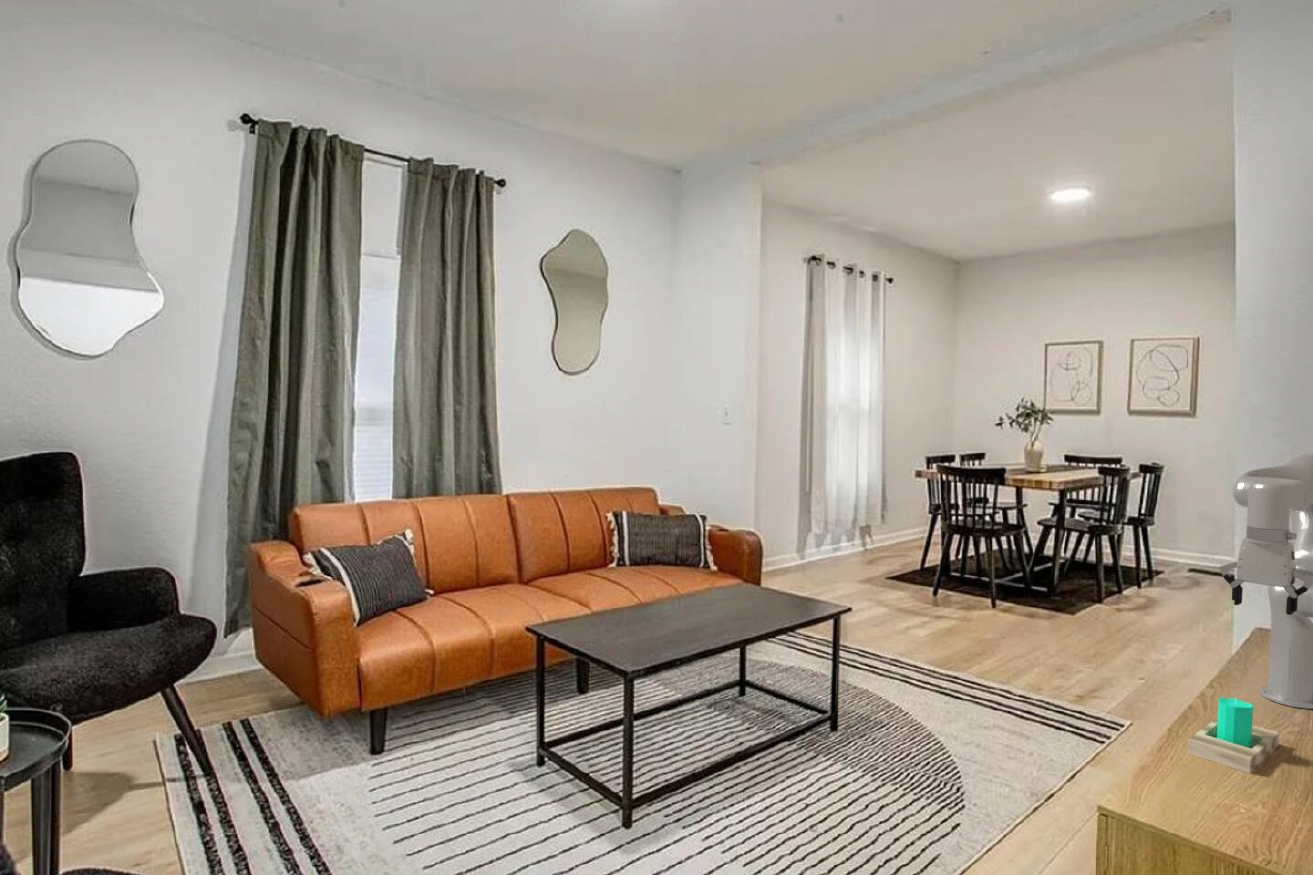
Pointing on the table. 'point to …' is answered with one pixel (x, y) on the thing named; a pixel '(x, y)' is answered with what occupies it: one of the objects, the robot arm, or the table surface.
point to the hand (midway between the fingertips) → (1263, 608)
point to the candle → (1235, 721)
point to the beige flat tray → (1233, 747)
